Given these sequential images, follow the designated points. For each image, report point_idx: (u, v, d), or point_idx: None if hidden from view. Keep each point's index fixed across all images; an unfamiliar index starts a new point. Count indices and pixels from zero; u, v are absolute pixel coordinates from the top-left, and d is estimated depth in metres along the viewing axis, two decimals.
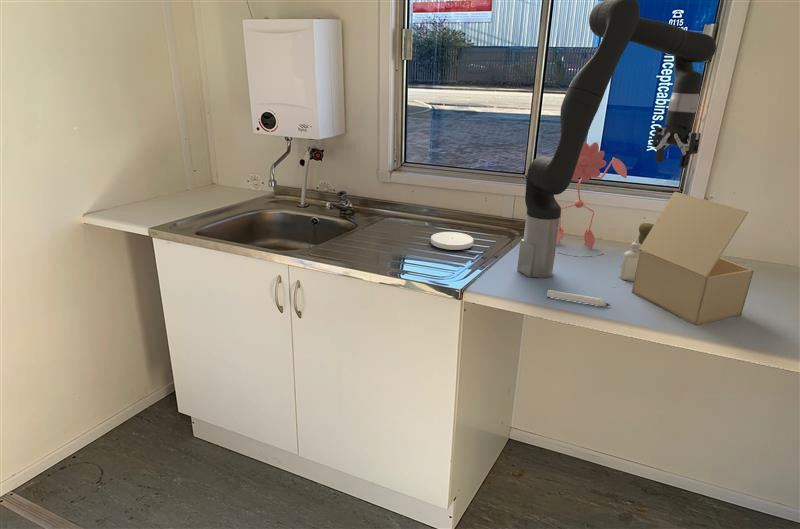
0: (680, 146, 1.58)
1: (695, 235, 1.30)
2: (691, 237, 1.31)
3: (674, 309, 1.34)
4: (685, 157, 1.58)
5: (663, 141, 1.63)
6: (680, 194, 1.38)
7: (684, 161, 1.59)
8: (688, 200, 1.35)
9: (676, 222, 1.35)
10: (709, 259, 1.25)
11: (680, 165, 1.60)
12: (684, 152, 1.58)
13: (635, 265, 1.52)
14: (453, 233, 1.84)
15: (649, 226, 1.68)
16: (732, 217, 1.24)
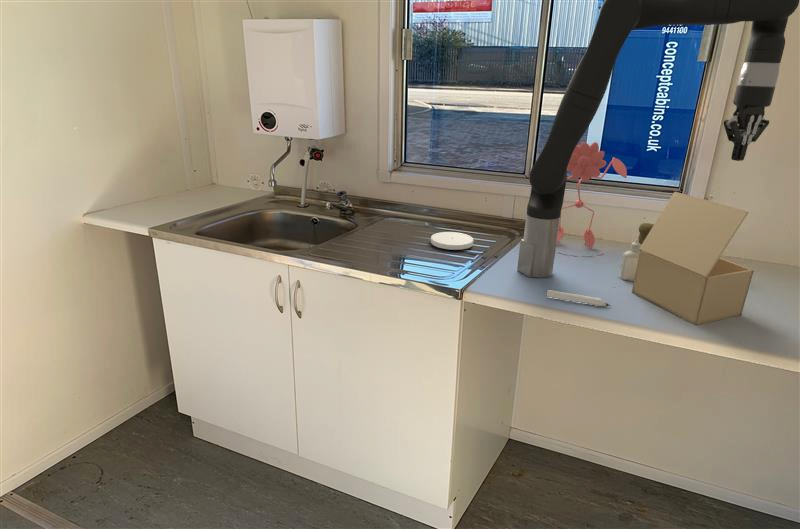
0: (753, 133, 1.26)
1: (695, 235, 1.30)
2: (691, 237, 1.31)
3: (674, 309, 1.34)
4: (746, 147, 1.28)
5: (749, 129, 1.25)
6: (680, 194, 1.38)
7: None
8: (688, 200, 1.35)
9: (676, 222, 1.35)
10: (709, 259, 1.25)
11: (743, 157, 1.29)
12: (749, 141, 1.27)
13: (635, 265, 1.52)
14: (453, 233, 1.84)
15: (649, 226, 1.68)
16: (732, 217, 1.24)
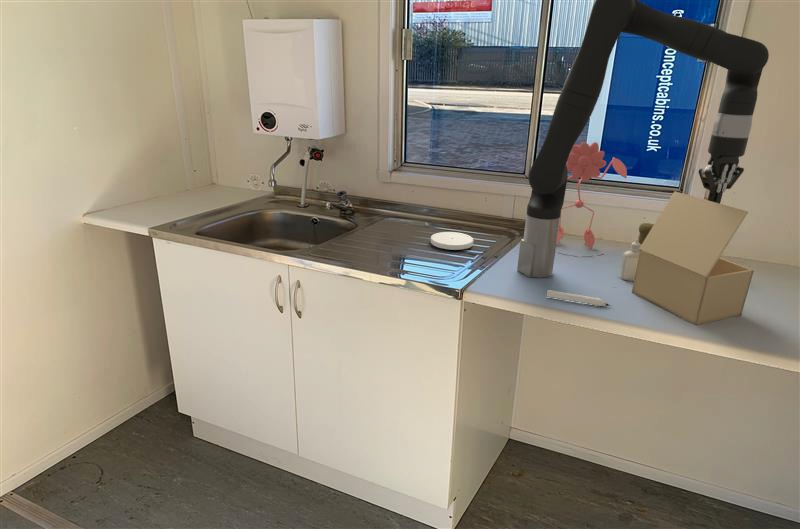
0: (728, 181, 1.29)
1: (695, 235, 1.30)
2: (691, 236, 1.31)
3: (674, 309, 1.34)
4: (721, 194, 1.31)
5: (723, 178, 1.28)
6: (680, 194, 1.37)
7: None
8: (688, 200, 1.35)
9: (676, 222, 1.35)
10: (709, 259, 1.25)
11: None
12: (724, 189, 1.30)
13: (635, 265, 1.52)
14: (453, 233, 1.84)
15: (649, 226, 1.68)
16: (732, 217, 1.24)
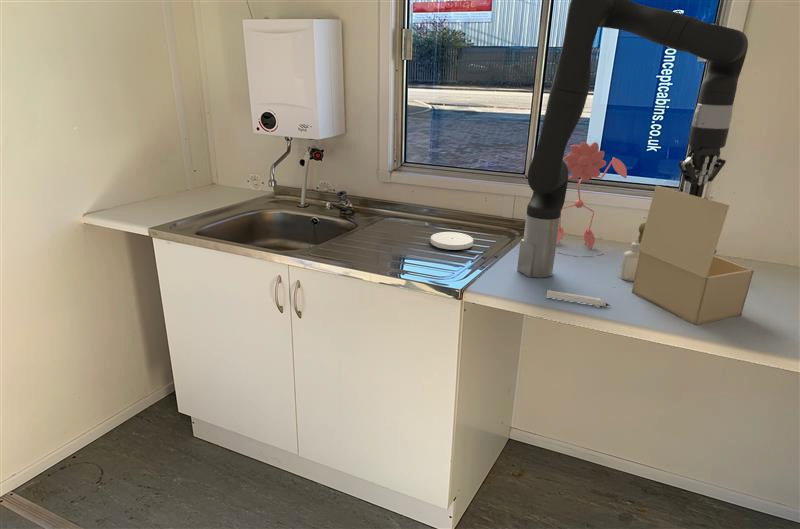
0: (709, 173, 1.25)
1: (685, 233, 1.28)
2: (682, 235, 1.29)
3: (674, 309, 1.34)
4: (703, 186, 1.27)
5: (704, 170, 1.24)
6: (661, 188, 1.34)
7: (702, 191, 1.28)
8: (670, 195, 1.32)
9: (665, 220, 1.34)
10: (704, 259, 1.24)
11: None
12: (706, 182, 1.26)
13: (635, 265, 1.52)
14: (453, 233, 1.84)
15: None
16: (715, 212, 1.21)
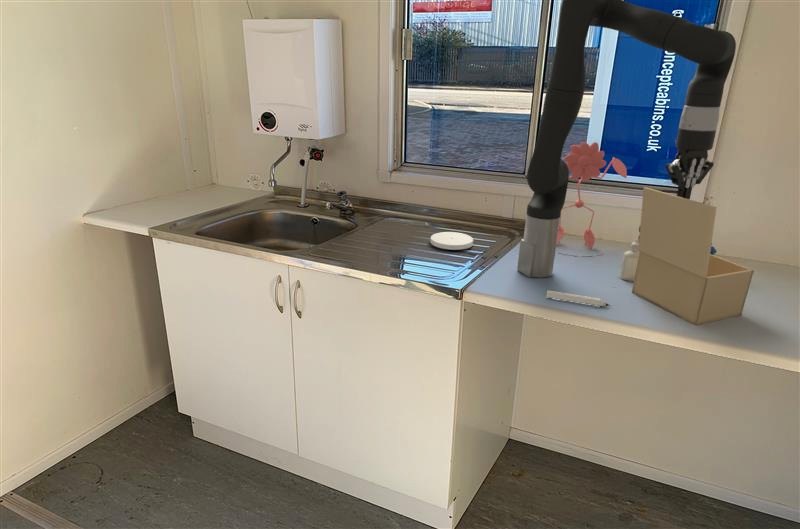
0: (697, 176, 1.24)
1: (679, 235, 1.28)
2: (676, 236, 1.29)
3: (674, 309, 1.34)
4: (691, 189, 1.26)
5: (692, 173, 1.23)
6: (649, 190, 1.33)
7: (689, 194, 1.26)
8: (659, 197, 1.31)
9: (658, 221, 1.33)
10: (701, 260, 1.24)
11: None
12: (693, 184, 1.25)
13: (635, 265, 1.52)
14: (453, 233, 1.84)
15: None
16: (704, 214, 1.20)
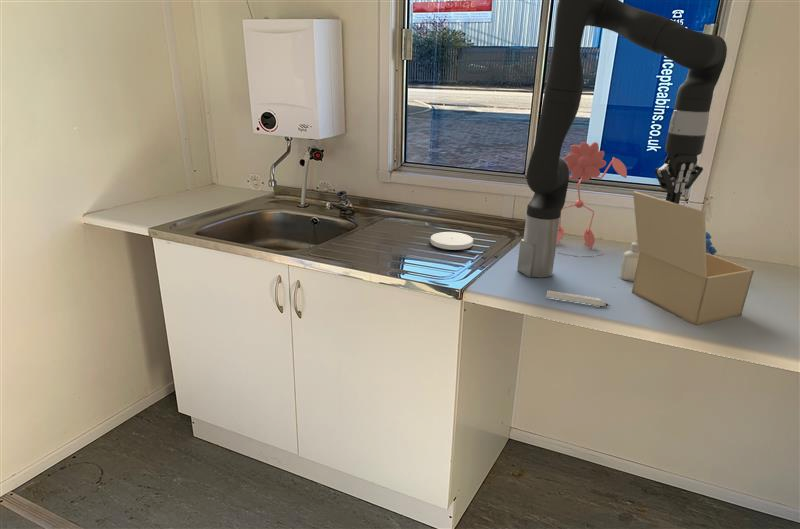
0: (686, 180, 1.23)
1: (674, 237, 1.27)
2: (672, 239, 1.28)
3: (674, 309, 1.34)
4: (680, 194, 1.25)
5: (681, 177, 1.22)
6: (639, 195, 1.32)
7: (678, 199, 1.26)
8: (649, 201, 1.30)
9: (652, 224, 1.32)
10: (698, 262, 1.24)
11: None
12: (683, 189, 1.24)
13: (635, 265, 1.52)
14: (453, 233, 1.84)
15: None
16: (694, 219, 1.20)
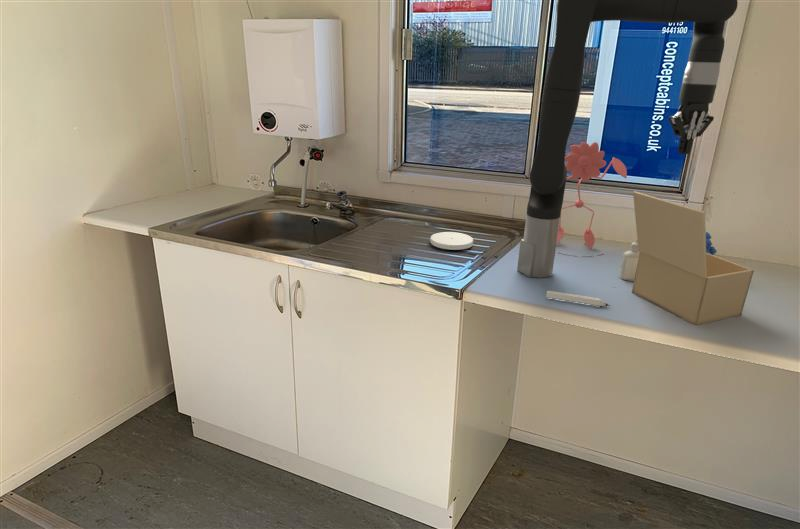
0: (697, 128, 1.35)
1: (674, 237, 1.27)
2: (672, 239, 1.28)
3: (674, 309, 1.34)
4: (692, 141, 1.37)
5: (693, 124, 1.34)
6: (639, 195, 1.32)
7: (690, 146, 1.37)
8: (649, 201, 1.30)
9: (652, 224, 1.32)
10: (698, 262, 1.24)
11: (688, 151, 1.37)
12: (694, 136, 1.36)
13: (635, 265, 1.52)
14: (453, 233, 1.84)
15: None
16: (694, 219, 1.20)
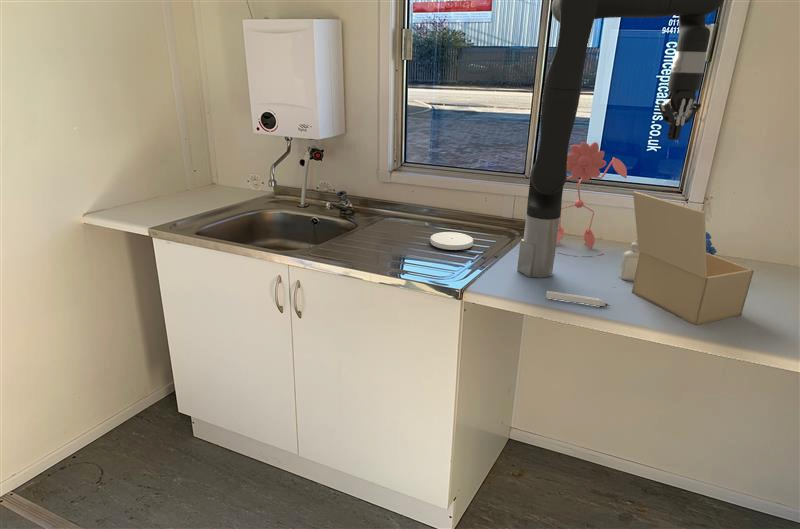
0: (686, 115, 1.42)
1: (674, 237, 1.27)
2: (672, 239, 1.28)
3: (674, 309, 1.34)
4: (680, 127, 1.44)
5: (681, 111, 1.41)
6: (639, 195, 1.32)
7: (679, 132, 1.44)
8: (649, 201, 1.30)
9: (652, 224, 1.32)
10: (698, 262, 1.24)
11: (677, 137, 1.44)
12: (683, 123, 1.43)
13: (635, 265, 1.52)
14: (453, 233, 1.84)
15: None
16: (694, 219, 1.20)
